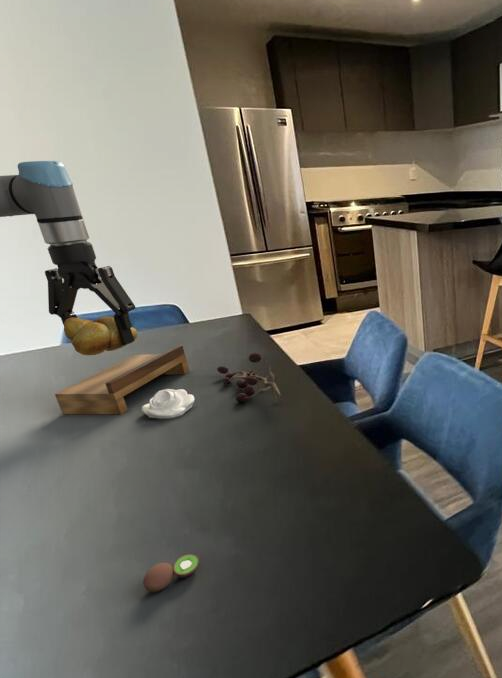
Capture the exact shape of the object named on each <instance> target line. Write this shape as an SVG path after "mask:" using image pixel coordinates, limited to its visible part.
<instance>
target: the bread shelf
mask: <svg viewBox="0 0 502 678" xmlns="http://www.w3.org/2000/svg"><path fill="white" fill-rule="evenodd" d="M190 371H191V370H190V367H189V363H188V360H187V357H186V353H185V350H184V346H183V344H177V345H174V347H173V346H172V347H171V348H170V349H168V350H166V351H163V352H162V353H155V354H151V353H149V354H133V355H132V356H129V357H127V358H125V359H123V360H121V361H119V362H117V363H115V364H113V365H111V366H109V367H106V368H105V369H102V370H101V371H99V372H97V373H95V374H92V375H91V376H89V377H86V378H84V379H83V380H81V381H78V382H76V383H74V384H72V385H71V386H68V387H67V388H66V387H65V388H64V389H62V390H60V391H58V392H55V393H54V396H55V398H56V402H57V404H58V407H59V408H60V411H61V413H62V415H122V414H124V413H126V412H128V407H127V404H126V401H125V398H124V397H125V396H127V395H128V394H131V393H133V392H134V391H135V390H137V389H139V388H140V387H142V386H144V385H146V384H147V383H149V382H151V381H152V380H154V379H155V378H158V377H159V376H162V375H186V374H188V373H190Z"/></svg>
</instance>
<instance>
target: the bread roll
mask: <svg viewBox="0 0 502 678" xmlns="http://www.w3.org/2000/svg"><path fill="white" fill-rule="evenodd" d="M63 331H64V335H65V337H66V338H67V339H69V340H70V342H71V345H72V346H73V348H74V351H75V352H76V353H78V354H80V355H82V356H96V355H100V354H102V353H104V352H105V351H107V352H112V351H116V350H119V349H122V348H124V347H125V346H126V345H123V344H122V341H121V338H120V335H119V332H118V329H117V326H116V323H115V320H114V317H113V316H102V317H99V318H96V319H95V320H91V319H86V318H79V317H77V318H74V317H71V318H69V319H66V320H65V321H64V325H63ZM131 331H132V334H133V337H134V341H136V339H137V338H138V331H137V329H136V328H134V327H133V326H132V327H131ZM71 340H72V341H71ZM130 344H131V343H129V344H128V345H130Z"/></svg>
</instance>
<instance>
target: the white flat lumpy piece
mask: <svg viewBox="0 0 502 678" xmlns="http://www.w3.org/2000/svg"><path fill="white" fill-rule="evenodd" d="M194 402H195V396H194V395H193V394H190V393H189V394H188V392H187V390H185V389H182V388H179V389H173V388H165V389H160V390H158V391H157V392H156V393H154V395H153V397H151V398H150V399H149V402H148V403H146V404H143V405H142V406H141V412H142V413H143V414H145V415H146V416H147V417H148V418H153V419H157V420H167V419H168V420H169V419H173V418H177V417H180V416H182V415H184V414H185V413H186V412H187V411H189V410H190V409H191V408H193V405H194Z"/></svg>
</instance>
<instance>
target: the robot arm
mask: <svg viewBox="0 0 502 678" xmlns="http://www.w3.org/2000/svg"><path fill="white" fill-rule="evenodd" d="M17 170H18V174H9V175H7V174H6V175H0V218H3V217H4V218H6V217H10V218H11V217H15V216H27V215H34V216H35V218H36V222H37V224H38V227H39V229H40V233H41V236H42V238H43V241H44V243H45V244H47V245H49V246H48V247H47V250H48V254H49V257H50V259H51V261H52V264H53V265H55V266H57V268H51V269H46V270H45V271H44V275H45V278H46V280H47V299H48V301H47V303H48V313H49V314H50V315H52V316H53V315H55V316H58V317H59V318H60V319H61V322H62V325H63V326H64V321H65V320H66V319H69V318H71V317H74V318H78V316H77V314H75V311H74V305H75V302H76V299H77V294H78V291H79V290H80V289H83V290H89V291H90V292H93V293H95V295H96V296H97V297H99V299H100V300H101V301H102V302H103V303H105V305H106V306H107V307H108V308H110V310H111V311H112V312H113V313H114V315H113V316H112V317H114V320H115V323H116V326H117V329H118V332H119V335H120V338H121V341H122V344H123V345H125V346H127V345H130V344H132V343H134V342H135V340H134V337H133V334H132V331H131V327H133V323H132V321H131V317H130V314H129V313H130V312H131V311H133V310H136V305H135V303H134V302H133V301H132V299H131V297H130V296H129V295H128V293H127V292H126V290H125V288H124V287H123V286H122V284H121V283H120V281H118V279H117V277H116V276H115V272H114V270H113V267H112V266H111V265H107V266H102V267H99V266H98V265H97V264H96V259H97V256H96V253H95V249H94V246H93V243H91V242H90V241H89V239H90V236H89V232H88V229H87V226H86V224H85V220H84V217H83V215H82V212H81V208H80V205H79V202H78V199H77V196H76V193H75V190H74V185H73V184H74V183H73V182H72V180H71V178H70V175H69V173H68V171H67V168H66V166H65V165H64V163H62V162H60V161H56V160H34V161H33V160H31V161H30V160H29V161H22V162H19V163H18V164H17ZM71 341H72V340H70V342H71ZM129 343H130V344H129Z"/></svg>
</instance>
